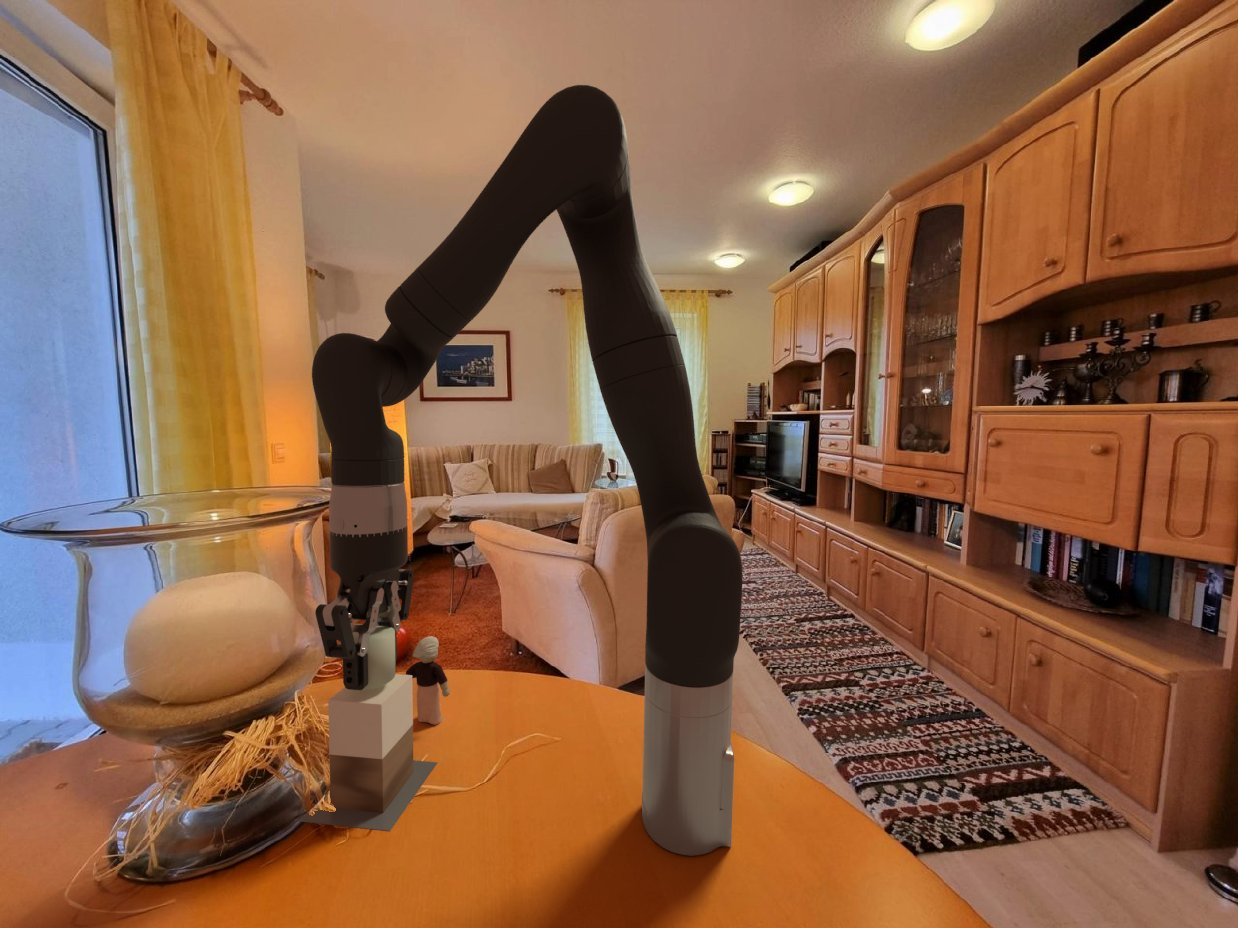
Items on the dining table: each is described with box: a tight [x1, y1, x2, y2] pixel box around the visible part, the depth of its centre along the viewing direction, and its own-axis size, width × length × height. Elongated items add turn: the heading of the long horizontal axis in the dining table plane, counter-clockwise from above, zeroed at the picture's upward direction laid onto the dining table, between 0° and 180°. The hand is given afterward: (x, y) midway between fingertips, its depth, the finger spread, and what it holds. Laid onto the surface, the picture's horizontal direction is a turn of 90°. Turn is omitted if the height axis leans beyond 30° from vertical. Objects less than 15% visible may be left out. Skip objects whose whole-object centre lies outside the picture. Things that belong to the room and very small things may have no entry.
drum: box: [353, 626, 396, 690], centre depth 52 cm, size 5×5×5 cm
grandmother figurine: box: [405, 635, 451, 726], centre depth 66 cm, size 8×4×13 cm, turn 82°
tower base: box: [329, 724, 414, 813], centre depth 53 cm, size 6×6×6 cm
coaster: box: [298, 759, 438, 832], centre depth 53 cm, size 10×10×1 cm
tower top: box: [327, 673, 414, 759], centre depth 52 cm, size 6×6×6 cm
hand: (372, 674), depth 52 cm, fingers closed on drum, 4 cm apart
